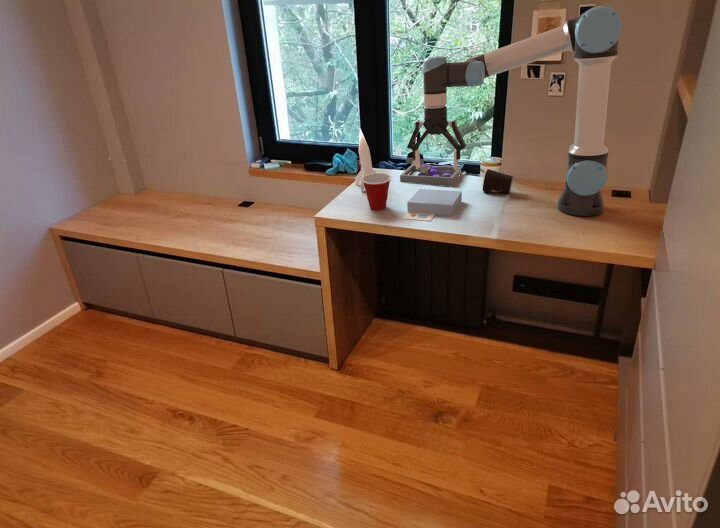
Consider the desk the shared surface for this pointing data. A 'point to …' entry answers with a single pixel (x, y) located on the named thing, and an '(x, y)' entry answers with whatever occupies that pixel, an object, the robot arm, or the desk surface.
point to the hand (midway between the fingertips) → (436, 168)
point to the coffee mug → (497, 182)
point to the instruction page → (418, 216)
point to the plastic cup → (377, 189)
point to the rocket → (364, 161)
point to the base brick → (435, 202)
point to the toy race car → (432, 171)
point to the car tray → (431, 179)
